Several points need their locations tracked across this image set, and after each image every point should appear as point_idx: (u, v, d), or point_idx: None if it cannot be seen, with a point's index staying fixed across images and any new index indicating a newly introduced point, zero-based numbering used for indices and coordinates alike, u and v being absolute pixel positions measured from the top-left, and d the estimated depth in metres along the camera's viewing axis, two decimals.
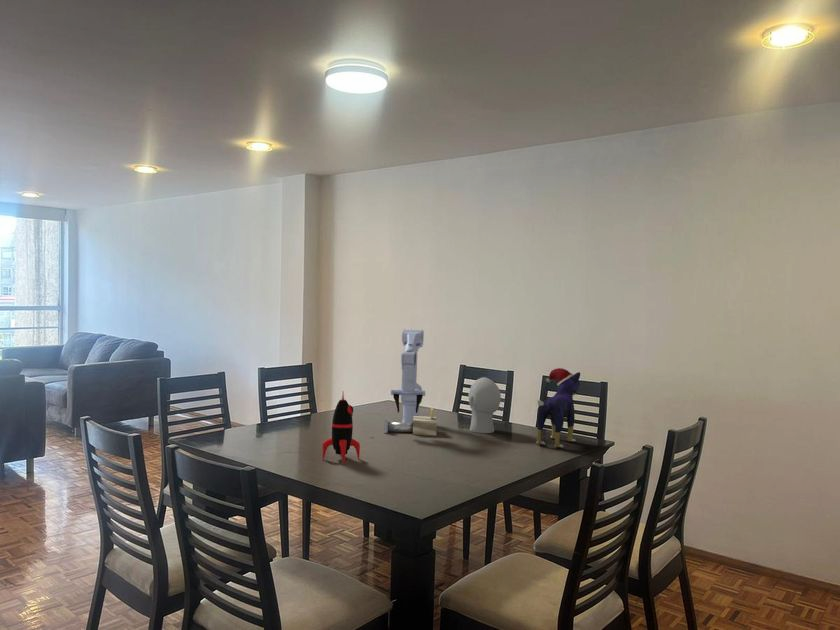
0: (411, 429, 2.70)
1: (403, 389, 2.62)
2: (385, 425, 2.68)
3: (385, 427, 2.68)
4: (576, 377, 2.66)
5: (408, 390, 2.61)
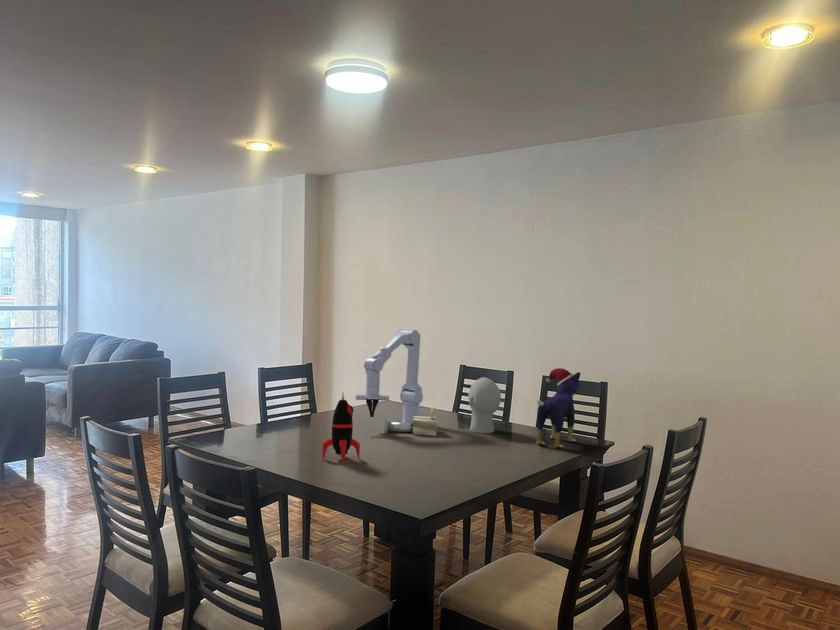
0: (411, 429, 2.70)
1: (367, 394, 2.69)
2: (385, 425, 2.68)
3: (385, 427, 2.68)
4: (576, 377, 2.66)
5: (372, 395, 2.68)
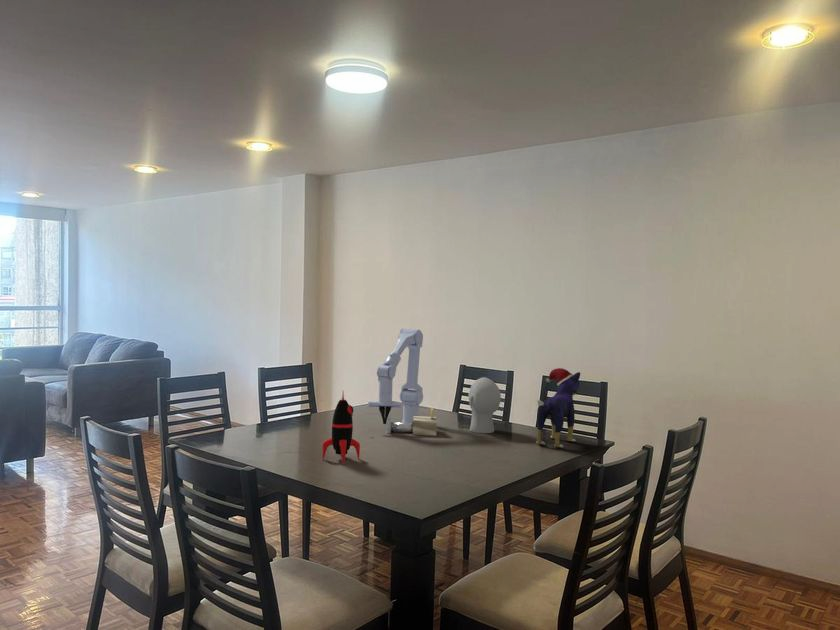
0: None
1: (380, 401, 2.69)
2: (388, 425, 2.68)
3: (388, 427, 2.68)
4: (576, 377, 2.66)
5: (385, 402, 2.68)
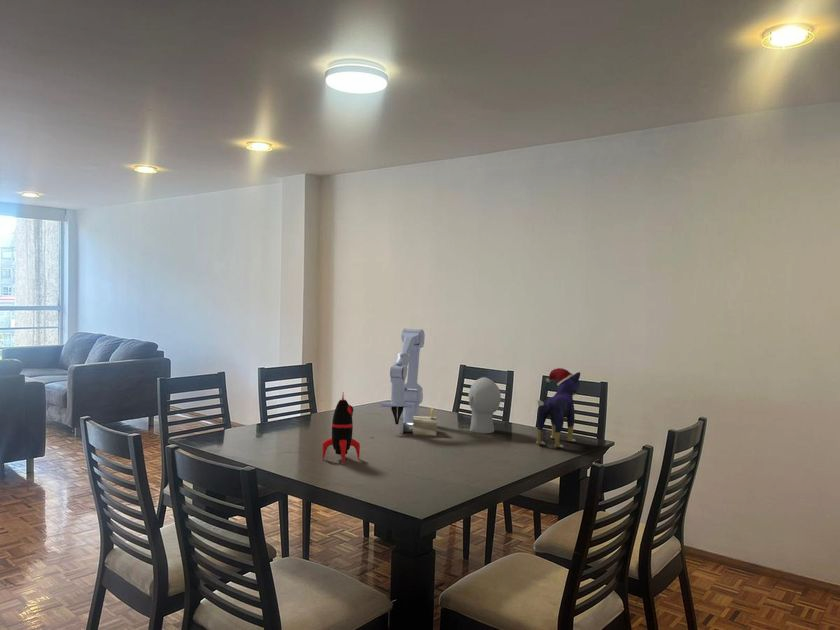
0: None
1: (392, 402, 2.69)
2: (401, 425, 2.68)
3: (401, 427, 2.68)
4: (576, 377, 2.66)
5: (397, 403, 2.68)
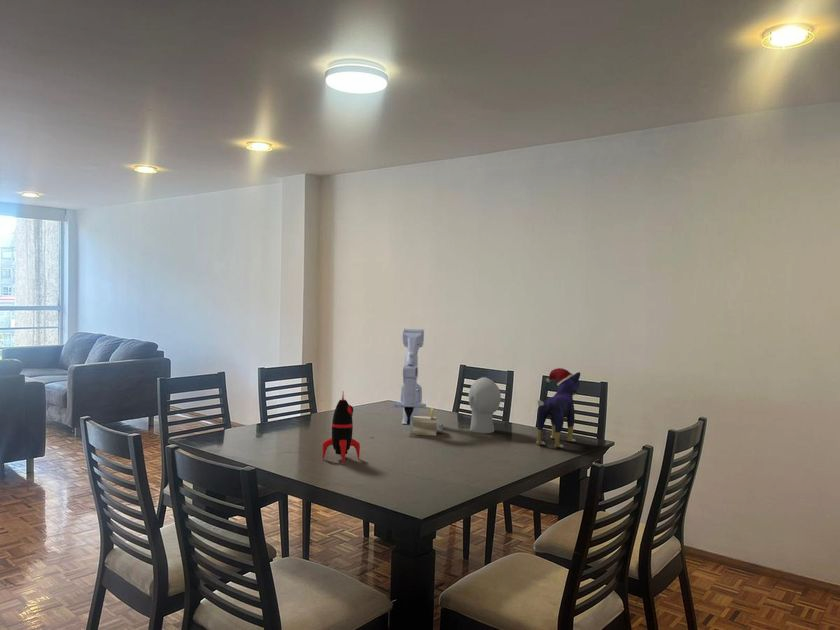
0: (436, 430, 2.70)
1: (404, 402, 2.69)
2: (411, 426, 2.68)
3: (411, 427, 2.68)
4: (576, 377, 2.66)
5: (409, 403, 2.68)
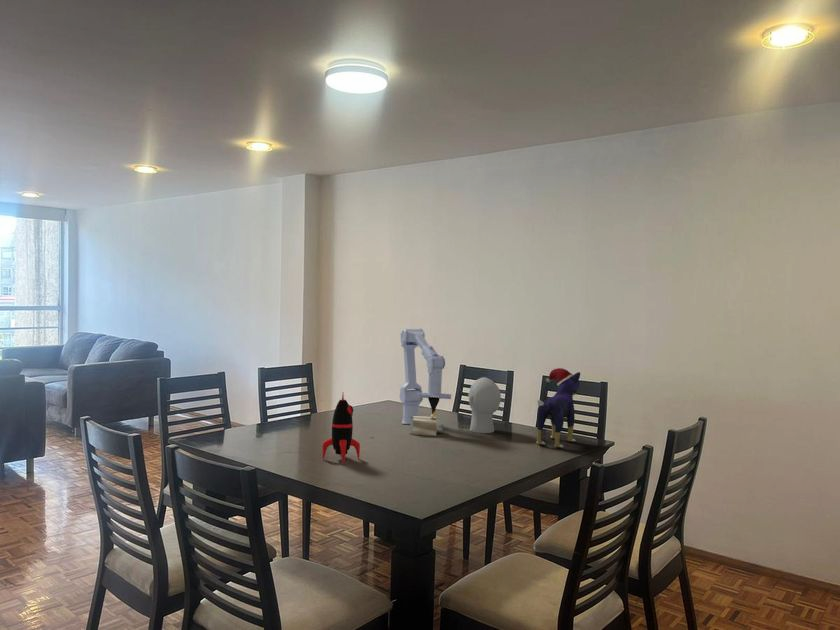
0: (436, 430, 2.70)
1: (430, 392, 2.69)
2: (411, 426, 2.68)
3: (411, 427, 2.68)
4: (576, 377, 2.66)
5: (435, 393, 2.68)
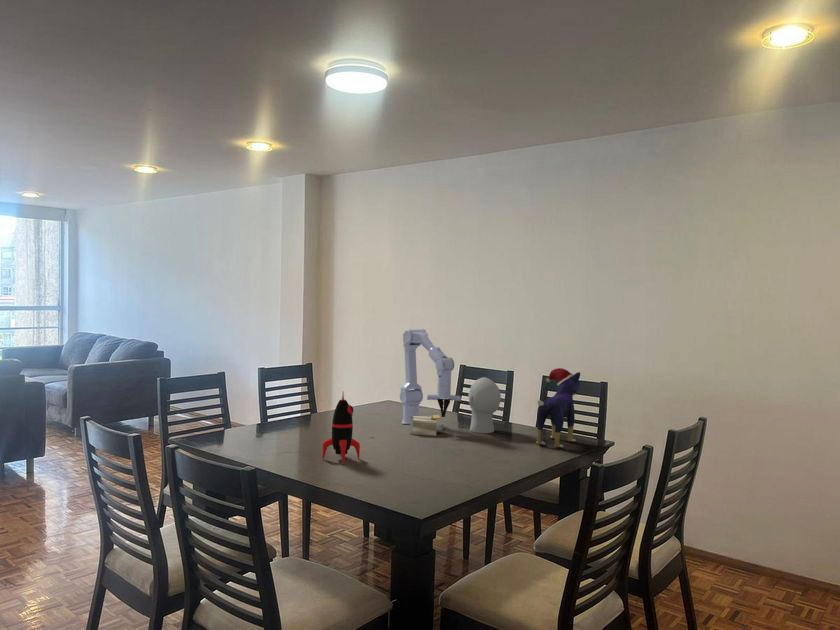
0: (436, 430, 2.70)
1: (439, 394, 2.69)
2: (411, 426, 2.68)
3: (411, 427, 2.68)
4: (576, 377, 2.66)
5: (444, 395, 2.68)
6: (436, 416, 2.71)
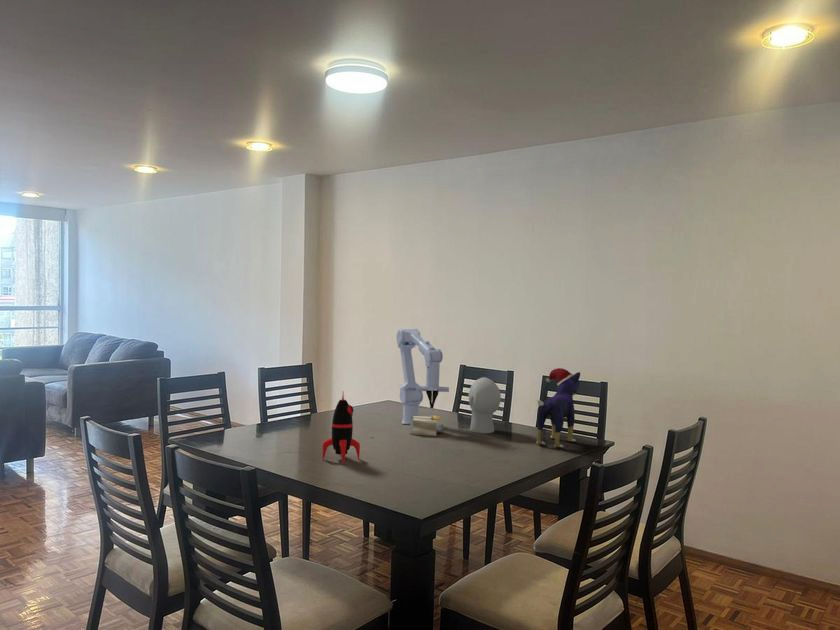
0: (436, 430, 2.70)
1: (428, 385, 2.72)
2: (411, 426, 2.68)
3: (411, 427, 2.68)
4: (576, 377, 2.66)
5: (433, 386, 2.71)
6: (436, 417, 2.71)
